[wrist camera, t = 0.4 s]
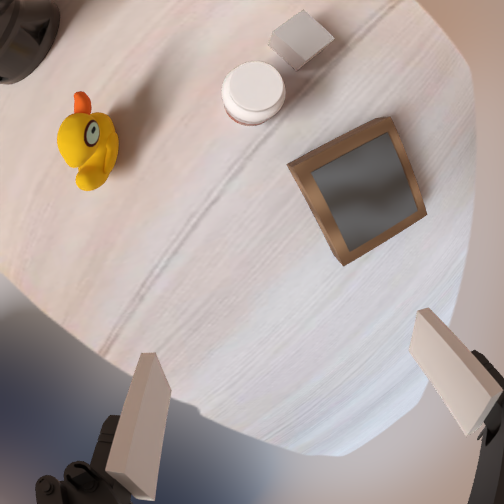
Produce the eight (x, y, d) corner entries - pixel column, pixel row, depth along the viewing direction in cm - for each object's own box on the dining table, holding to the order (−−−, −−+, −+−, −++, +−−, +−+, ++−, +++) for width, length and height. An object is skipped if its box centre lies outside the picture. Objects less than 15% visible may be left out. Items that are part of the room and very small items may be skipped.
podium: (286, 164, 35) (293, 167, 31) (376, 118, 33) (391, 116, 29) (333, 255, 40) (344, 267, 36) (412, 207, 38) (428, 215, 34)
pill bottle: (254, 69, 31) (263, 40, 20) (285, 107, 33) (307, 92, 22) (213, 98, 32) (204, 79, 21) (244, 136, 34) (249, 132, 23)
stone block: (267, 45, 30) (272, 31, 25) (294, 24, 28) (303, 9, 24) (296, 71, 31) (305, 61, 26) (322, 50, 30) (335, 38, 25)
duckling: (91, 101, 30) (51, 92, 21) (127, 98, 31) (93, 86, 21) (86, 184, 34) (46, 199, 25) (121, 185, 35) (86, 200, 25)
